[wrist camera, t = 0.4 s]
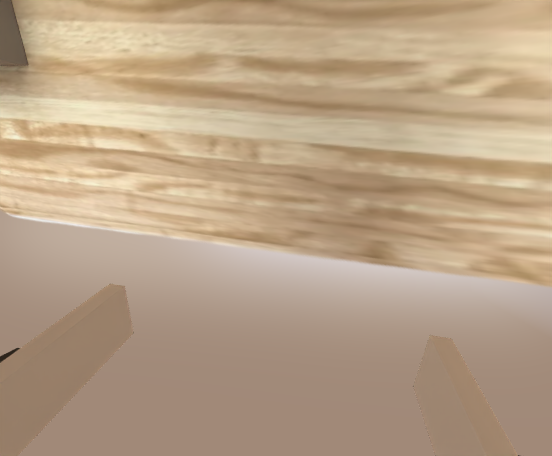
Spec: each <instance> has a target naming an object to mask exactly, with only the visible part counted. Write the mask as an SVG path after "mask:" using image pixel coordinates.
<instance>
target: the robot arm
mask: <svg viewBox="0 0 552 456" xmlns="http://www.w3.org/2000/svg"><path fill="white" fill-rule="evenodd" d="M133 333H134V332H133V327H132V321H131V316H130V312H129V306H128V301H127V296H126V290H125V286H121V285H114V284H109V285H108V286H106V287H105V288H103V289H102V290H101V291H99V292H98V293H96V294H95V295H94V296H92V297H91V298H90V299H88V300H87V301H85V302H84V303H83V304H81V305H80V306H79V307H77V308H76V309H74V310H73V311H72V312H70V313H69V314H67V315H66V316H65V317H63V318H62V319H60V320H59V321H58V322H56V323H55V324H53V325H52V326H51V327H49V328H48V329H46V330H45V331H44V332H42V333H41V334H40V335H38V336H37V337H35V338H34V339H33V340H31V341H30V342H28V343H27V344H26V345H24V346H23V347H22V348H16V349H14V350H12V351H10V352H8V353H6V354H4V355H2V356H0V456H18V455H19V454H20V453H21V452H22V451H23V450H24V449H25V448H26V446H27V445H28V444H29V443H30V442H31V441H32V440H33V439H34V438H35V437H36V436H37V435H38V434H39V433H40V432H41V431H42V430H43V428H44V427H45V426H46V425H47V424H48V423H49V422H50V421H51V420H52V419H53V418H54V417H55V416H56V415H57V414H58V413H59V412H60V411H61V409H62V408H63V407H64V406H65V405H66V404H67V403H68V402H69V401H70V400H71V399H72V398H73V397H74V396H75V395H76V394H77V392H78V391H79V390H80V389H81V388H82V387H83V386H84V385H85V384H86V383H87V382H88V381H89V380H90V379H91V378H92V377H93V376H94V374H95V373H96V372H97V371H98V370H99V369H100V368H101V367H102V366H103V365H104V364H105V363H106V362H107V361H108V360H109V359H110V358H111V357H112V355H113V354H114V353H115V352H116V351H117V350H118V349H119V348H120V347H121V346H122V345H123V343H125V342H126V341H127V340H128V339H129V337H130V336H131V335H132V334H133ZM413 387H414V390H415V393H416V396H417V400H418V403H419V406H420V409H421V412H422V415H423V419H424V422H425V425H426V428H427V432H428V434H429V438H430V441H431V444H432V447H433V450H434V454H435V456H519V455H517V454H516V451H515V450H514V448H513V446H512V445H511V443H510V441H509V439H508V437H507V436H506V434H505V432H504V430H503V428H502V427H501V425H500V423H499V421H498V420H497V418H496V416H495V414H494V413H493V411H492V409H491V408H490V406H489V404H488V403H487V400H486V398H485V397H484V395H483V393H482V391H481V390H480V388H479V386H478V384H477V383H476V381H475V379H474V377H473V376H472V374H471V372H470V370H469V369H468V367H467V365H466V363H465V361H464V360H463V358H462V356H461V354H460V353H459V351H458V349H457V347H456V346H455V344H454V342H453V340H452V339H450V338H444V337H438V336H432V335H430V337H429V340H428V343H427V346H426V349H425V352H424V355H423V358H422V361H421V364H420V367H419V370H418V373H417V376H416V379H415V382H414V385H413Z"/></svg>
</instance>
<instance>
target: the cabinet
mask: <svg viewBox="0 0 552 456" xmlns="http://www.w3.org/2000/svg"><path fill="white" fill-rule="evenodd" d="M4 65H28V63H27V59H26V55H25V51H24V48H23V44H22V40H21V36H20V33H19V29H18V25H17V21H16V18H15V14H14V10H13V6H12V3H11V0H0V66H4Z"/></svg>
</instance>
